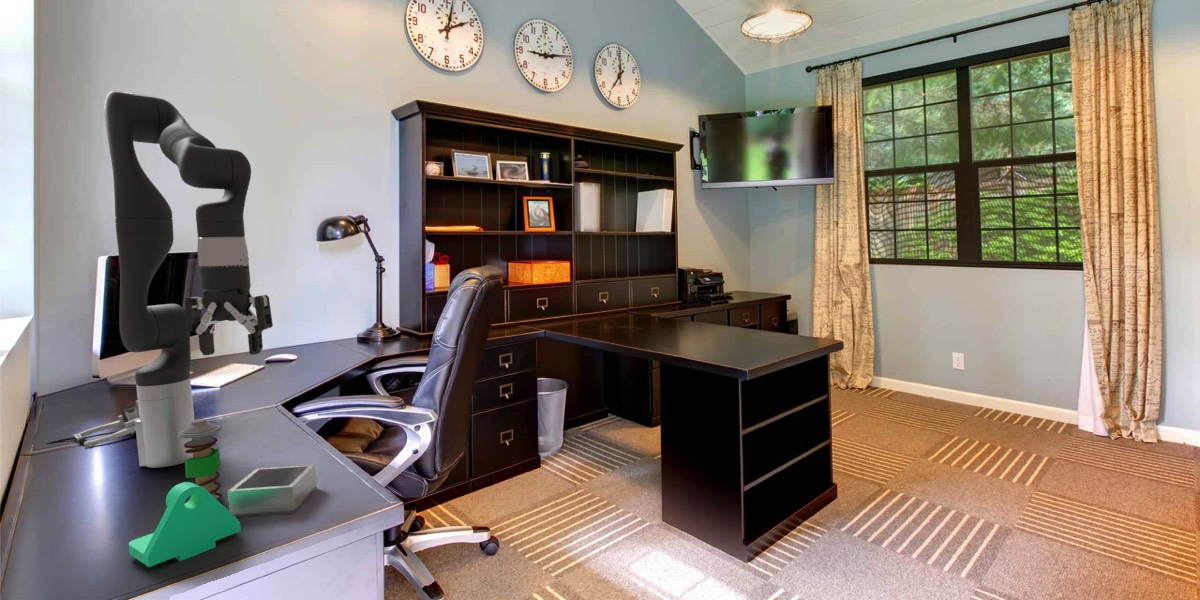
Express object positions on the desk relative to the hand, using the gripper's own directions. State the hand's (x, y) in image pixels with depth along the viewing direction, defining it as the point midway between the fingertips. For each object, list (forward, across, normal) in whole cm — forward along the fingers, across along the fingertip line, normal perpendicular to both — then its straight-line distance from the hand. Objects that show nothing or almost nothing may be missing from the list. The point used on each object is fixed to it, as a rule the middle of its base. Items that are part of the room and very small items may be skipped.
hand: (232, 354), depth 107 cm
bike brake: (+26, -56, +33) cm, 70 cm away
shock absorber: (+26, -4, -5) cm, 27 cm away
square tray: (+26, +8, -4) cm, 27 cm away
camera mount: (+26, +4, -20) cm, 33 cm away
